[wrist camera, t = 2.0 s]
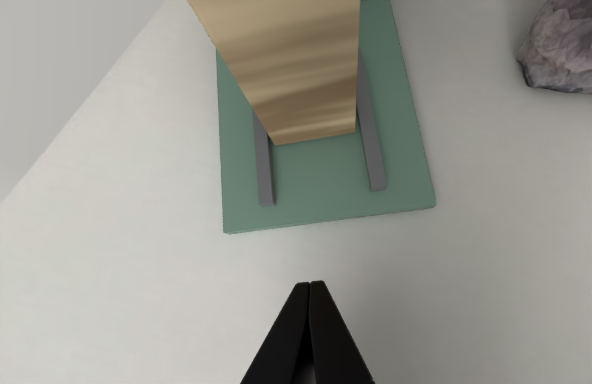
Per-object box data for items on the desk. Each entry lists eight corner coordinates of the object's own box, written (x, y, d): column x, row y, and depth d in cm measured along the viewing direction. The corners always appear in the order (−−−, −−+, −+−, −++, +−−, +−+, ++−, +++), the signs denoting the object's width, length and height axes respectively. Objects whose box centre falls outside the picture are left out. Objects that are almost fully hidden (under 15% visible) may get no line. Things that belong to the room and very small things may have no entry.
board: (432, 207, 21) (440, 201, 19) (228, 234, 23) (218, 231, 22) (374, -51, 28) (376, -75, 26) (217, -12, 30) (208, -32, 28)
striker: (355, 133, 22) (366, -176, 7) (275, 147, 23) (124, -102, 8) (348, 95, 23) (346, -258, 8) (271, 109, 24) (128, -184, 8)
